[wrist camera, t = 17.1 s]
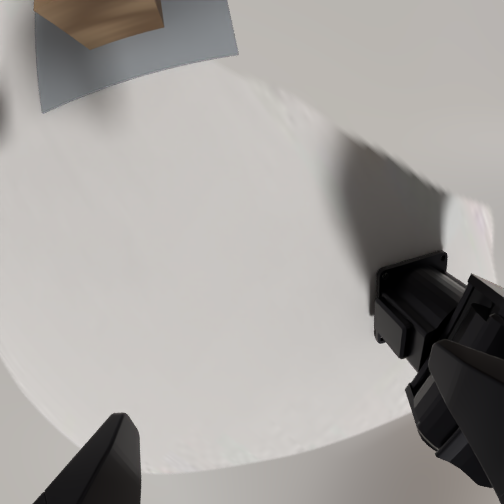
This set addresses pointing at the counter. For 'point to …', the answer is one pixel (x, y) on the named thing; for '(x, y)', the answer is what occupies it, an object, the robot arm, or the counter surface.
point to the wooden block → (102, 18)
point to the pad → (130, 51)
